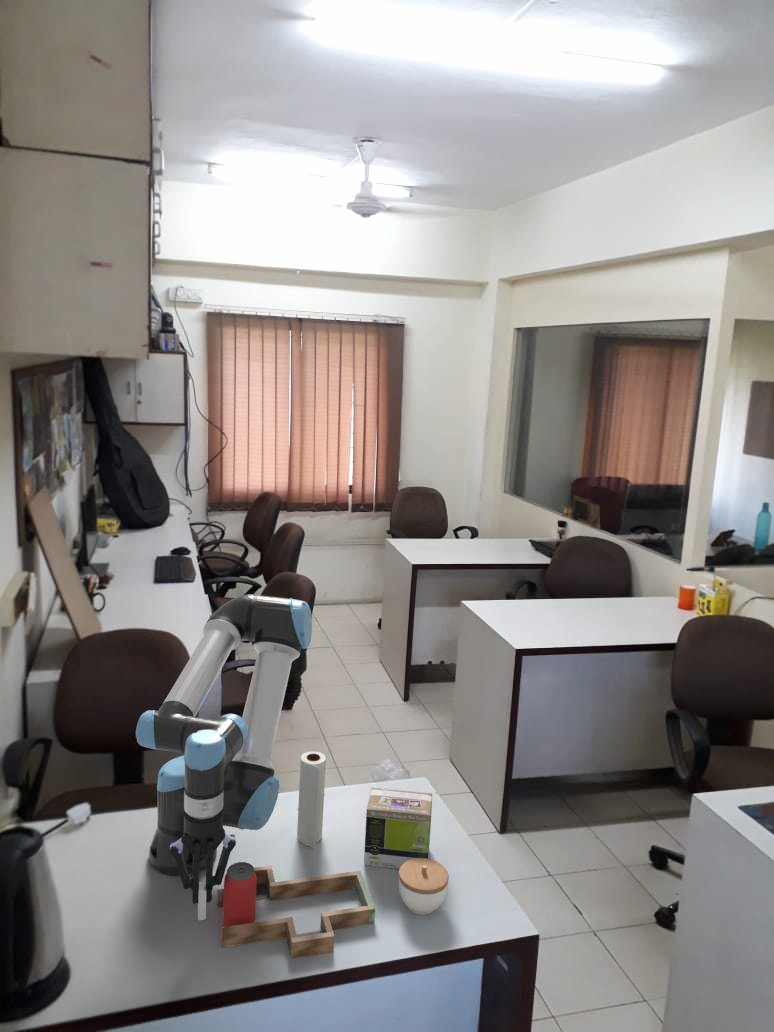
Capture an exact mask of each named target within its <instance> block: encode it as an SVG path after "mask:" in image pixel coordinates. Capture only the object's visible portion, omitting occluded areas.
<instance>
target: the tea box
mask: <svg viewBox="0 0 774 1032" xmlns="http://www.w3.org/2000/svg"><path fill="white" fill-rule="evenodd" d="M432 805H433V793H430V792H421V791H413V790H411V791H410V790H409V791H408V790H402V789H393V788H392V789H391V788H382V787H381V788H378V787H371V789H370V795H369V798H368V803H367V807H366V811H365V812H366V815H365V833H364V834H365V835H364V855H363V856H364V857H363V865H364V866H373V867H382V868H388V869H389V868H391V869H400V867H401V865H402V864H403V863H405V862H406V861H408V860H411V859H414V858H427V859H429V855H430V854H429V853H430V843H431V827H432V811H433V809H432V808H433V806H432Z"/></svg>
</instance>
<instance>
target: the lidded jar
mask: <svg viewBox="0 0 774 1032" xmlns="http://www.w3.org/2000/svg"><path fill="white" fill-rule="evenodd" d="M449 879H450V878H449V873H448V870H447V869H446V867H445V866H444V865H443V864H441V863H440V862H438V861H437V860H435V859H431V858H428V859H427V858H414V859H411V860H408V861H406V862H405V863H403V864H402V865H401V867H400V869H399V870H398V890H399V894H400V898H401V900H402V901H403V904H404V905H405V906H406V908H408V909H409V911H411V912H412V913H413V914H416V915H418V916H419V915H422V916H424V915H430V914H432V913H433V912H434V911H436V910H437V909H438V908H439V907H441V905H442V903H443V902H444V900H445V898H446V895H447V890H448V885H449V884H448V883H449Z"/></svg>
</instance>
